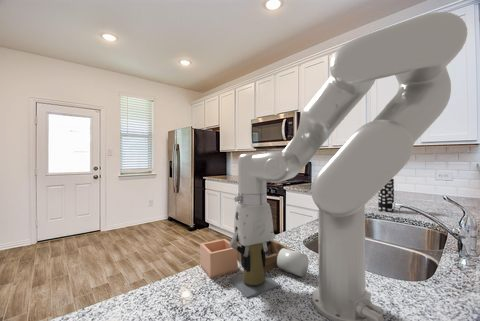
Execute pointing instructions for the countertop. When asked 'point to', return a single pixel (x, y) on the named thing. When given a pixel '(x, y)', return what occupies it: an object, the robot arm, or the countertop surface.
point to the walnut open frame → (272, 259)
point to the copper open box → (218, 258)
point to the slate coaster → (253, 289)
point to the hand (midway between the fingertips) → (253, 266)
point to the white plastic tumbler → (292, 262)
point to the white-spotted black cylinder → (386, 197)
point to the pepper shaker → (255, 266)
